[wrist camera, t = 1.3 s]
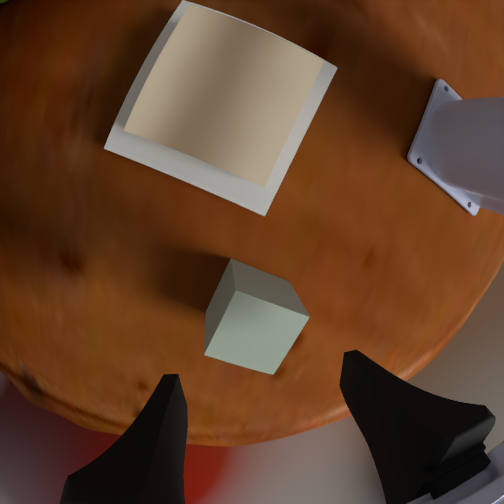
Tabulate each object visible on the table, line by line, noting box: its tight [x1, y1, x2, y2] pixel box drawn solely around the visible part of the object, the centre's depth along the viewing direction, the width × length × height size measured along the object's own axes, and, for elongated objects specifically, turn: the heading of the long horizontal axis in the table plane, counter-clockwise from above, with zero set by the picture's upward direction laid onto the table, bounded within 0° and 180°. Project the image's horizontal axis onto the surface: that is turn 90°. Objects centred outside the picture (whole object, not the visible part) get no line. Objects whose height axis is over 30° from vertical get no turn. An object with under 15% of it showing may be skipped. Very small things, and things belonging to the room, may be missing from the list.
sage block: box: [204, 259, 309, 375], centre depth 19 cm, size 4×4×5 cm
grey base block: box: [104, 0, 337, 216], centre depth 16 cm, size 10×10×3 cm
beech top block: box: [123, 4, 325, 187], centre depth 13 cm, size 7×7×3 cm
